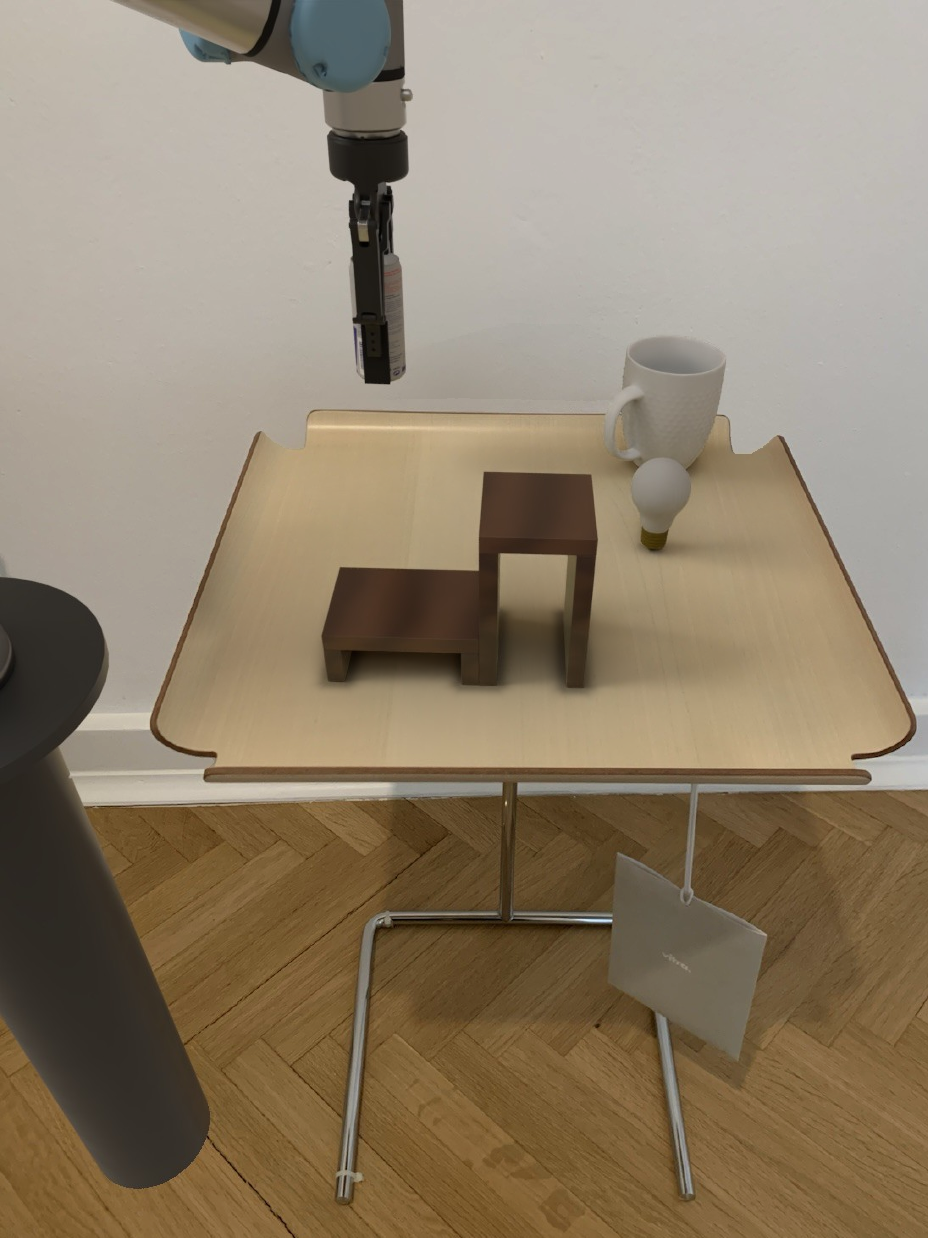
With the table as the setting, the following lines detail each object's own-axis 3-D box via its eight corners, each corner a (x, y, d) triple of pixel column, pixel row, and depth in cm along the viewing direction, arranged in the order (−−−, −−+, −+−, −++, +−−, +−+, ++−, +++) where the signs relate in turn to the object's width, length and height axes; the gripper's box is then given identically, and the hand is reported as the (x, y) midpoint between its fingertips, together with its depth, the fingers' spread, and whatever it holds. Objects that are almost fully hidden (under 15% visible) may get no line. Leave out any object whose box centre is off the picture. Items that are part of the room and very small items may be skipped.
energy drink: (388, 360, 106) (382, 247, 98) (415, 376, 103) (411, 261, 95) (347, 370, 103) (338, 256, 96) (373, 387, 100) (366, 270, 92)
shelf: (327, 681, 81) (306, 532, 71) (344, 610, 88) (327, 467, 79) (583, 688, 81) (597, 539, 71) (579, 617, 88) (591, 473, 79)
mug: (634, 505, 104) (647, 392, 95) (570, 465, 110) (577, 356, 102) (727, 466, 111) (748, 358, 102) (662, 431, 117) (676, 326, 109)
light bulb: (676, 568, 95) (691, 480, 88) (618, 558, 96) (628, 470, 89) (684, 538, 99) (699, 451, 92) (629, 529, 100) (639, 442, 94)
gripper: (396, 153, 81) (407, 409, 96) (416, 111, 95) (422, 340, 110) (309, 149, 81) (333, 406, 96) (341, 108, 95) (358, 338, 110)
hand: (381, 370), depth 103 cm, fingers closed on energy drink, 5 cm apart
